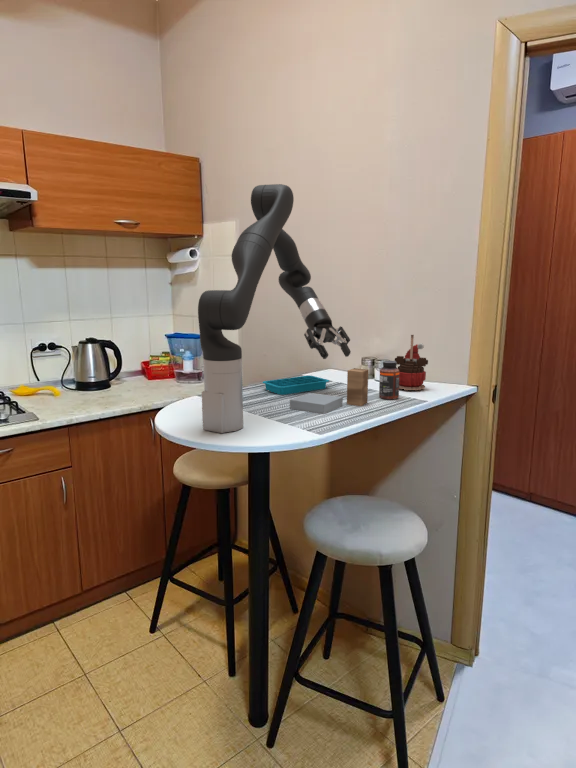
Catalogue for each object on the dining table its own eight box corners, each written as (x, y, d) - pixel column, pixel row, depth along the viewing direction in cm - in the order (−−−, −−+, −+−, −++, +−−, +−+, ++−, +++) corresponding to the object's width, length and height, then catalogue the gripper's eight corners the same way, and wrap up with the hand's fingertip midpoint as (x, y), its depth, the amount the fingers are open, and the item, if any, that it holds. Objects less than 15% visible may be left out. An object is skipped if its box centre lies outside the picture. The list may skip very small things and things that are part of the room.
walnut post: (360, 406, 148) (361, 371, 146) (346, 404, 150) (347, 370, 148) (367, 403, 152) (368, 369, 150) (353, 401, 154) (354, 368, 152)
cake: (390, 390, 169) (392, 335, 166) (397, 384, 178) (400, 332, 174) (422, 393, 165) (425, 337, 161) (429, 387, 173) (432, 334, 169)
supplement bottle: (397, 395, 161) (399, 360, 159) (399, 400, 155) (401, 363, 153) (378, 395, 162) (379, 359, 159) (379, 399, 156) (380, 362, 154)
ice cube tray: (261, 390, 171) (260, 381, 170) (310, 383, 182) (310, 375, 181) (280, 397, 161) (280, 387, 161) (330, 389, 172) (330, 380, 172)
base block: (324, 415, 140) (324, 404, 139) (289, 410, 146) (289, 399, 145) (342, 407, 149) (342, 397, 148) (309, 402, 155) (309, 392, 154)
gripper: (301, 308, 157) (324, 350, 150) (338, 307, 164) (361, 346, 157) (291, 324, 162) (313, 365, 155) (327, 322, 170) (349, 361, 163)
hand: (337, 356), depth 156 cm, fingers open, 8 cm apart
